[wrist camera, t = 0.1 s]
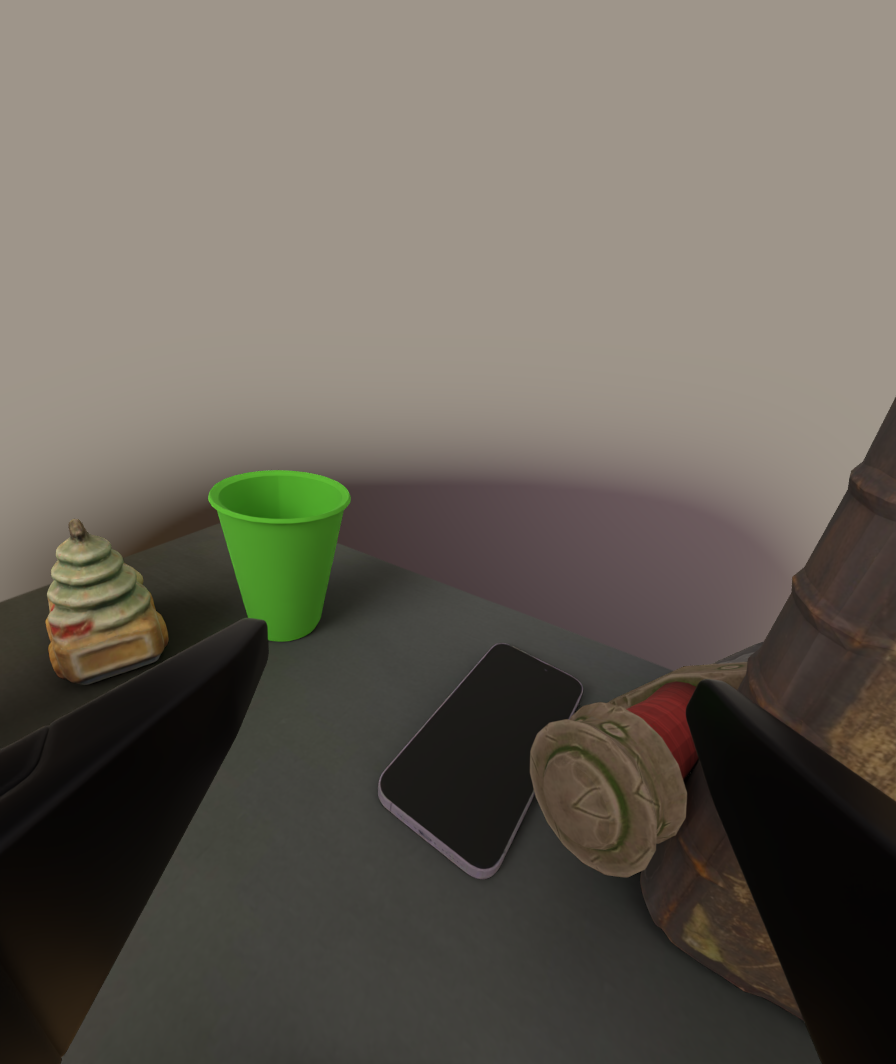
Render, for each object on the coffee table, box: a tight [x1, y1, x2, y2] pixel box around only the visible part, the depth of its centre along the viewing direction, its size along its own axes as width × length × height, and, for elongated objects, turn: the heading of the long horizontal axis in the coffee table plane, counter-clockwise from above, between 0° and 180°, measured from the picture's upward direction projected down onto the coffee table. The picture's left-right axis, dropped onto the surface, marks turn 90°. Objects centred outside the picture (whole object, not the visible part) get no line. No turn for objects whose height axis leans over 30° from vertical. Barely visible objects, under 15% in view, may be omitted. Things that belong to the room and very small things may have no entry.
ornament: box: [46, 519, 169, 685], centre depth 27 cm, size 8×6×10 cm
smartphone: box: [378, 643, 583, 879], centre depth 27 cm, size 7×1×15 cm
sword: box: [530, 642, 763, 878], centre depth 27 cm, size 30×5×30 cm
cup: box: [208, 470, 350, 642], centre depth 32 cm, size 9×9×11 cm
